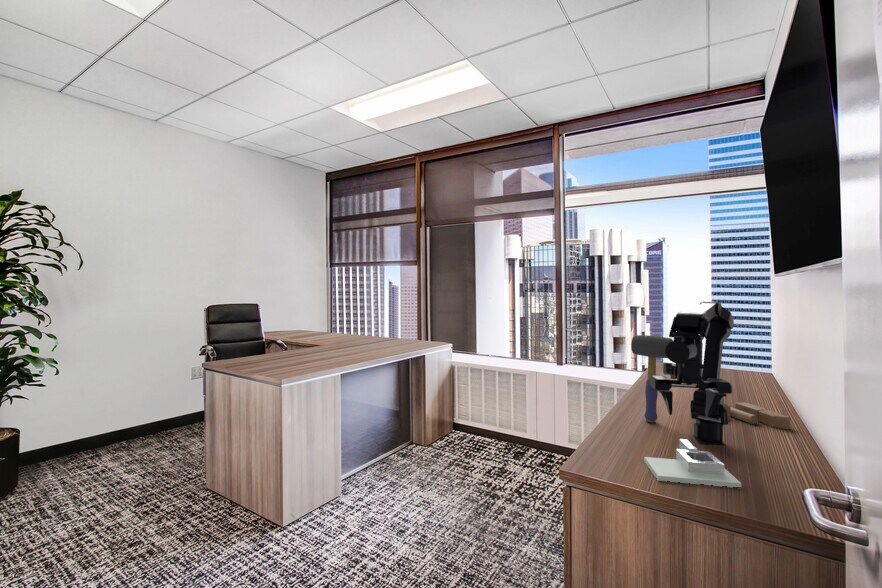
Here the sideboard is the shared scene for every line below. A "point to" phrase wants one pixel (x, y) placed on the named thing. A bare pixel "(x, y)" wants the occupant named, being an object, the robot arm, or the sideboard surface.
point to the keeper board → (687, 473)
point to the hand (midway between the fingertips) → (688, 415)
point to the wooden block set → (758, 415)
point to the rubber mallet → (650, 366)
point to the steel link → (691, 465)
